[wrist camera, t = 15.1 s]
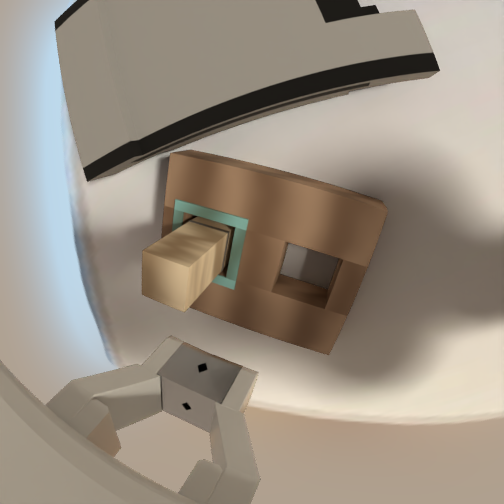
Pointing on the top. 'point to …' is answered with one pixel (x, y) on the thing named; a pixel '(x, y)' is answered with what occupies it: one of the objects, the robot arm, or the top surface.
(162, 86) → the game console
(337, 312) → the board
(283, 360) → the top surface
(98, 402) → the robot arm
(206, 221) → the peg
